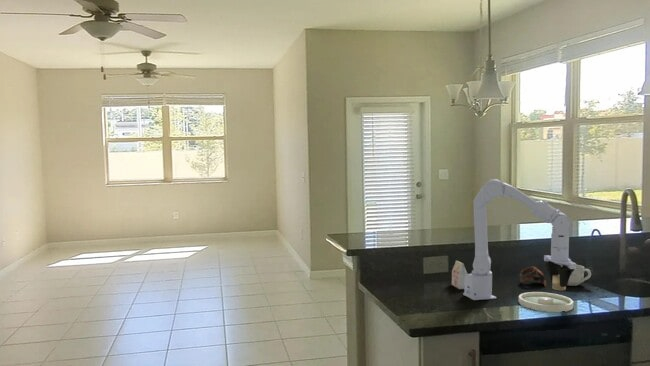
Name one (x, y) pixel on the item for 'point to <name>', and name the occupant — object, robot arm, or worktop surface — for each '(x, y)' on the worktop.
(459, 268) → the white rectangular block
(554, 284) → the maple bead
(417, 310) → the worktop surface
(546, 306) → the groove tray
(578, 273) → the teacup
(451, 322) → the worktop surface
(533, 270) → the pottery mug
